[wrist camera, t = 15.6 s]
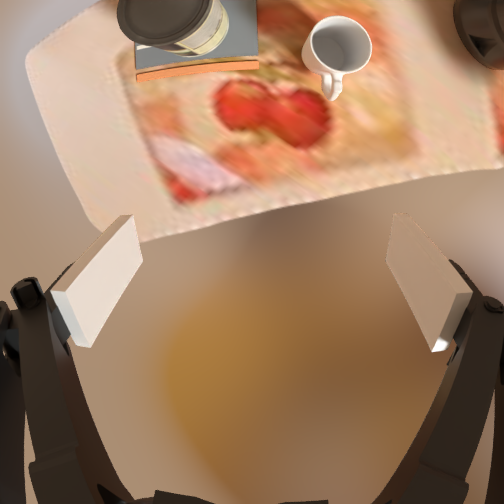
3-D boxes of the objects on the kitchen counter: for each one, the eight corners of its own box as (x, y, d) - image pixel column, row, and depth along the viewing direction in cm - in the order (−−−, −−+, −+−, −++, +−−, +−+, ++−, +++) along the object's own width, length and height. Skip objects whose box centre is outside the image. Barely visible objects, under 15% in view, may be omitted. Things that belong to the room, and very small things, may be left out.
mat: (255, -11, 31) (255, -12, 30) (258, 55, 36) (258, 55, 36) (135, 7, 32) (134, 6, 32) (137, 69, 38) (135, 69, 37)
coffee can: (167, 66, 37) (125, 60, 25) (154, 8, 32) (110, -16, 20) (236, 47, 36) (221, 28, 23) (222, -12, 31) (202, -50, 18)
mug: (300, 32, 34) (310, 11, 24) (347, 37, 34) (372, 21, 23) (297, 96, 39) (307, 98, 29) (344, 101, 39) (368, 106, 28)
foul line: (258, 61, 37) (258, 61, 37) (258, 69, 37) (258, 68, 37) (137, 74, 38) (136, 74, 38) (138, 82, 39) (137, 82, 38)
